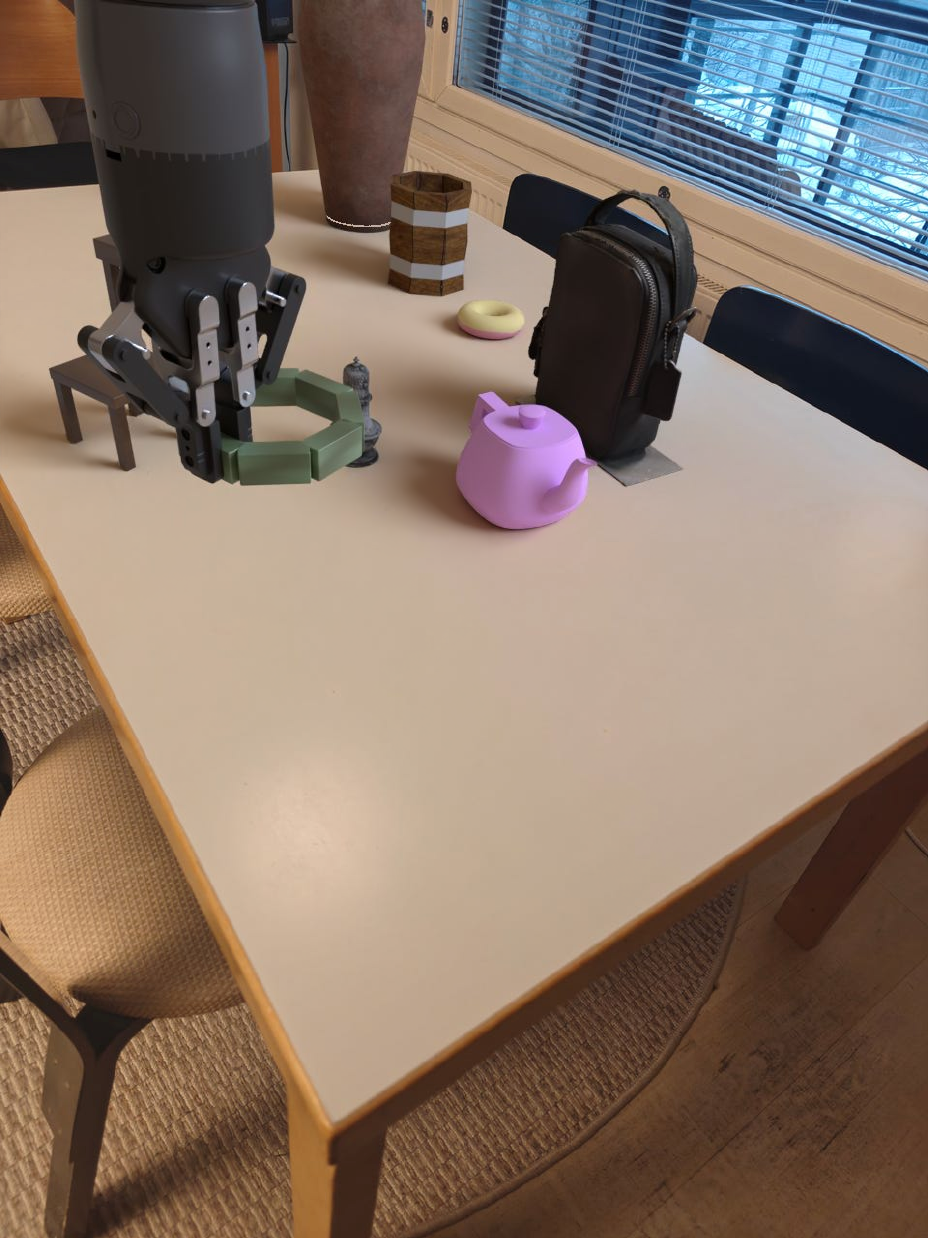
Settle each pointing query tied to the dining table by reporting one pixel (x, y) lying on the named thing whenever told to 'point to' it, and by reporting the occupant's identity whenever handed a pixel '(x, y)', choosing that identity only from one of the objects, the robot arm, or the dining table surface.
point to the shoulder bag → (616, 336)
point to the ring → (299, 457)
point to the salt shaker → (363, 411)
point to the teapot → (522, 464)
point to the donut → (490, 319)
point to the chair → (98, 374)
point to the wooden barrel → (428, 232)
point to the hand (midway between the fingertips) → (219, 468)
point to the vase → (361, 100)
